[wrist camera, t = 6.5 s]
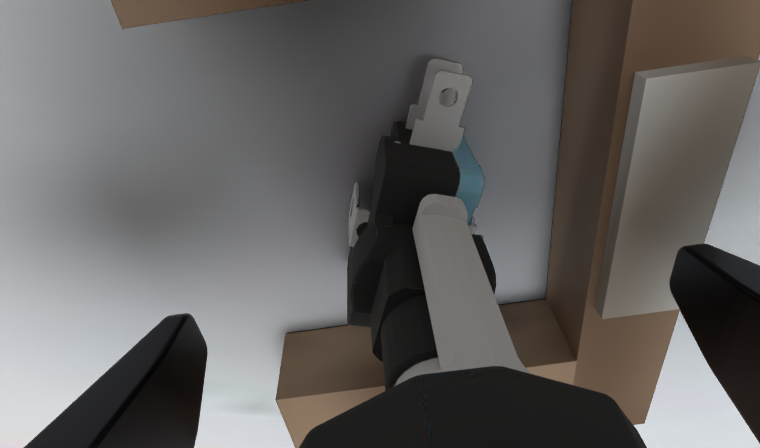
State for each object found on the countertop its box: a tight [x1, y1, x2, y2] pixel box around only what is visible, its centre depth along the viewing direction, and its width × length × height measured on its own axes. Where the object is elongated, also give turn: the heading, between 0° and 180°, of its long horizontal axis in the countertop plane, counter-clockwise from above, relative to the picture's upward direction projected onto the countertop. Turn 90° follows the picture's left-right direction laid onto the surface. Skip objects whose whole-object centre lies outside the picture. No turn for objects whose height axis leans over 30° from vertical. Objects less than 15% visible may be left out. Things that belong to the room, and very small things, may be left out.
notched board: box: [111, 0, 760, 448], centre depth 11 cm, size 11×17×3 cm, turn 7°
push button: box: [299, 58, 647, 448], centre depth 8 cm, size 7×5×10 cm
